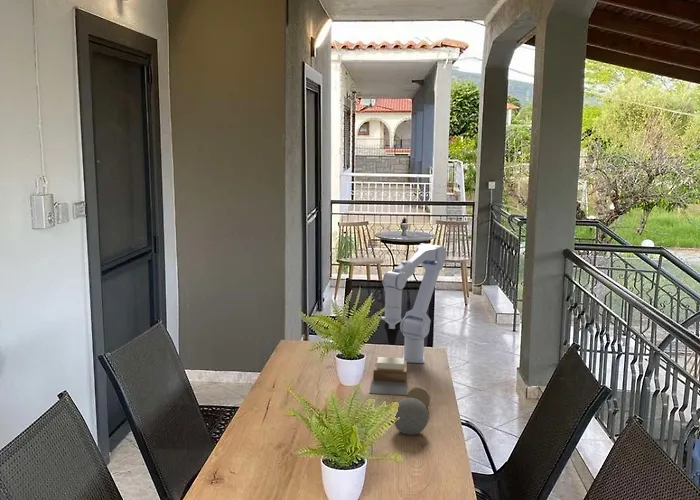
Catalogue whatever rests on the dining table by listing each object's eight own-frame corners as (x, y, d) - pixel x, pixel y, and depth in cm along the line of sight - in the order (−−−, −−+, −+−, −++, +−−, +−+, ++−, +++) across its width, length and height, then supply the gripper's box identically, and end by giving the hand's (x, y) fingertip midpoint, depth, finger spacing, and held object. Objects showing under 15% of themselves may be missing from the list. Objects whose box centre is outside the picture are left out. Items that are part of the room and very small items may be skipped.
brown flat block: (375, 369, 233) (375, 358, 232) (406, 371, 232) (406, 360, 231) (373, 381, 221) (373, 370, 220) (405, 383, 220) (406, 372, 219)
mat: (371, 381, 221) (371, 380, 221) (407, 383, 220) (407, 382, 220) (369, 393, 210) (369, 392, 210) (407, 395, 209) (407, 395, 209)
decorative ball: (405, 422, 190) (407, 389, 188) (434, 432, 183) (436, 398, 181) (384, 433, 182) (385, 399, 180) (414, 444, 176) (415, 409, 174)
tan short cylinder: (431, 400, 207) (437, 380, 200) (422, 424, 199) (428, 403, 193) (409, 392, 208) (414, 371, 202) (399, 415, 201) (404, 394, 195)
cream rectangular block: (377, 362, 228) (378, 357, 228) (403, 363, 227) (404, 358, 227) (377, 368, 222) (377, 362, 222) (403, 369, 221) (403, 364, 221)
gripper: (382, 300, 236) (381, 336, 239) (380, 310, 222) (379, 348, 224) (402, 301, 236) (400, 337, 238) (401, 311, 222) (400, 349, 224)
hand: (391, 343), depth 231 cm, fingers open, 3 cm apart
